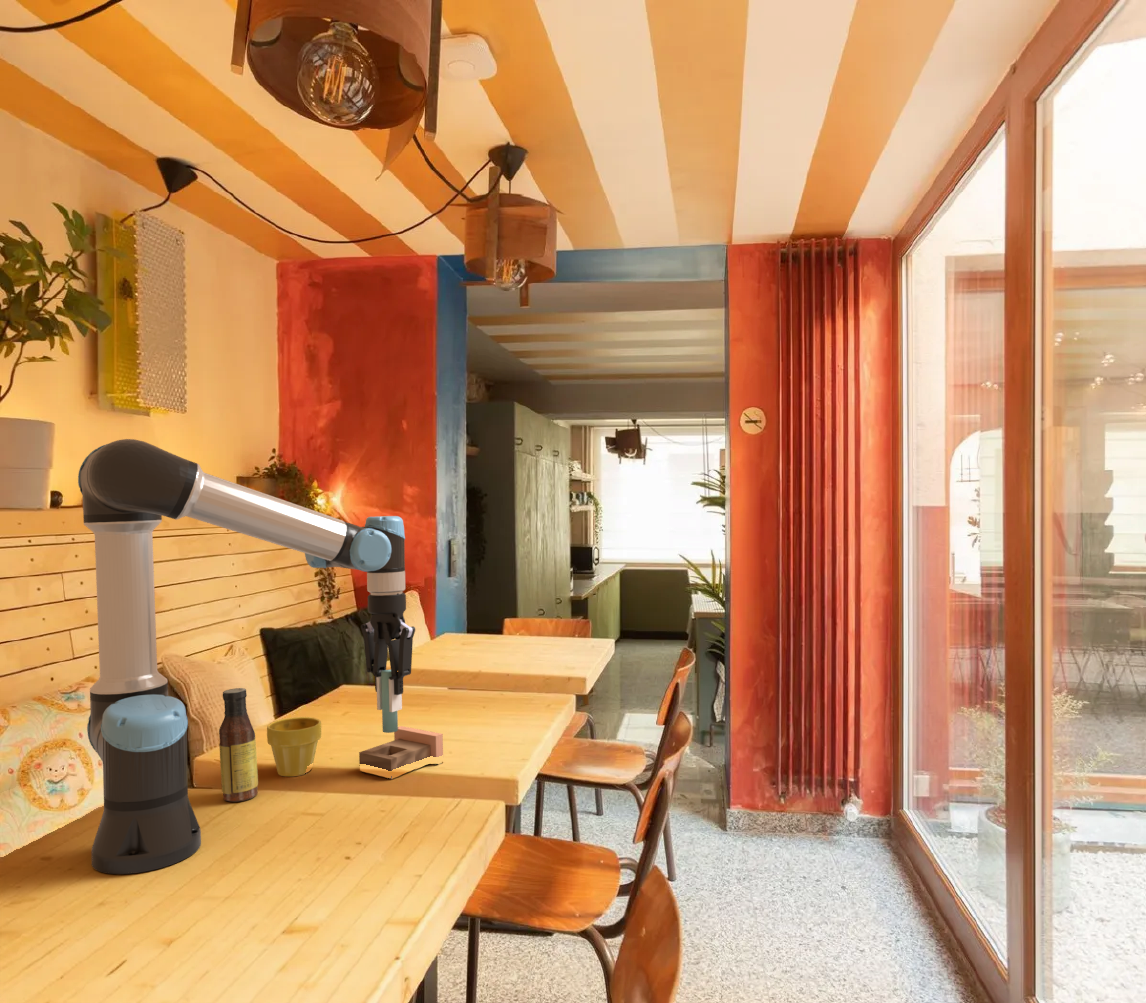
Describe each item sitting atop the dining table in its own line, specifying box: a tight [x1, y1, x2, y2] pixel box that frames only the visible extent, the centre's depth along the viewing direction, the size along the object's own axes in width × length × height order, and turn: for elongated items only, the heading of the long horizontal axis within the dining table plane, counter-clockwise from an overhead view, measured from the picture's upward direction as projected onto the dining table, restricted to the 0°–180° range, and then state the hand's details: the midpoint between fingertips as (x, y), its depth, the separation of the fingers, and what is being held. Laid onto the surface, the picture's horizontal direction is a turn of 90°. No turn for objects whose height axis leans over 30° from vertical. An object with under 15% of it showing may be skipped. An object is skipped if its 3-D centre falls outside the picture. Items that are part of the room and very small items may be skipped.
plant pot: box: [266, 716, 322, 778], centre depth 168 cm, size 10×10×10 cm
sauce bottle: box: [218, 687, 259, 803], centre depth 154 cm, size 6×6×20 cm
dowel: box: [381, 669, 399, 734], centre depth 168 cm, size 3×3×12 cm
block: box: [358, 739, 431, 780], centre depth 169 cm, size 11×9×4 cm
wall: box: [393, 725, 444, 757], centre depth 174 cm, size 2×12×6 cm, turn 56°
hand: (389, 709), depth 168 cm, fingers closed on dowel, 3 cm apart
